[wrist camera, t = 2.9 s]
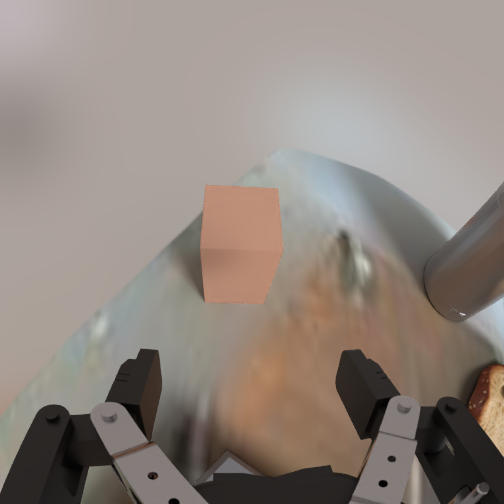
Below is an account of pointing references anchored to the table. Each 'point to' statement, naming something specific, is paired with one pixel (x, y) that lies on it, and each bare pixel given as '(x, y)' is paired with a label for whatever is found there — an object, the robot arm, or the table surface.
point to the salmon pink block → (240, 243)
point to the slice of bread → (490, 404)
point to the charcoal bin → (227, 467)
